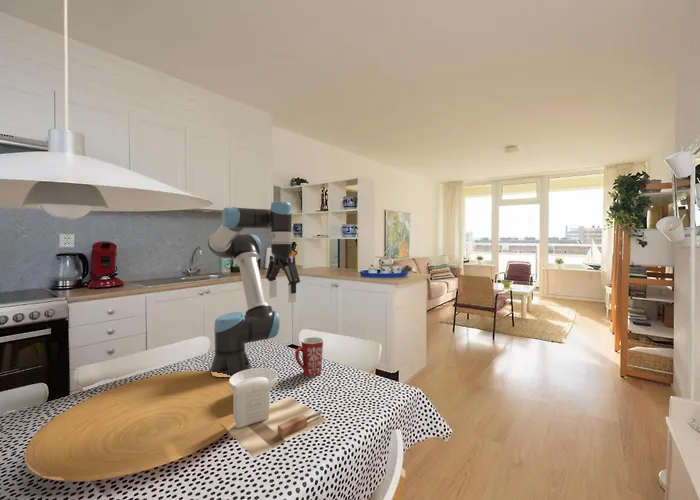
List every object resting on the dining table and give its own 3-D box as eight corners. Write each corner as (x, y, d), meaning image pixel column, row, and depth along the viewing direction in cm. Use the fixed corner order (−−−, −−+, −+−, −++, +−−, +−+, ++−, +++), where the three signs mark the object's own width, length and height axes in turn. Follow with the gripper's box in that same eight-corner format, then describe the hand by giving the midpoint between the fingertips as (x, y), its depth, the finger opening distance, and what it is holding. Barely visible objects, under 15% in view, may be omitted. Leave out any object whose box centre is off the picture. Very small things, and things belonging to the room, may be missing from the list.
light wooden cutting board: (220, 429, 92) (220, 424, 92) (289, 401, 108) (289, 396, 108) (254, 463, 78) (254, 457, 77) (327, 425, 93) (327, 420, 93)
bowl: (284, 400, 108) (283, 380, 108) (234, 414, 100) (234, 391, 100) (269, 383, 122) (269, 364, 122) (225, 393, 114) (224, 373, 113)
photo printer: (266, 412, 98) (265, 372, 98) (271, 418, 94) (271, 377, 94) (231, 423, 92) (230, 380, 92) (235, 430, 88) (235, 386, 88)
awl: (282, 438, 85) (282, 429, 85) (277, 434, 87) (277, 425, 87) (323, 417, 95) (323, 409, 95) (318, 414, 96) (318, 406, 96)
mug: (314, 366, 137) (314, 335, 137) (328, 372, 131) (327, 339, 130) (289, 375, 129) (288, 341, 128) (302, 382, 122) (302, 347, 122)
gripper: (256, 243, 127) (257, 296, 128) (291, 243, 109) (292, 305, 110) (273, 243, 132) (274, 294, 133) (309, 243, 114) (309, 302, 115)
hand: (282, 299), depth 121 cm, fingers open, 13 cm apart
